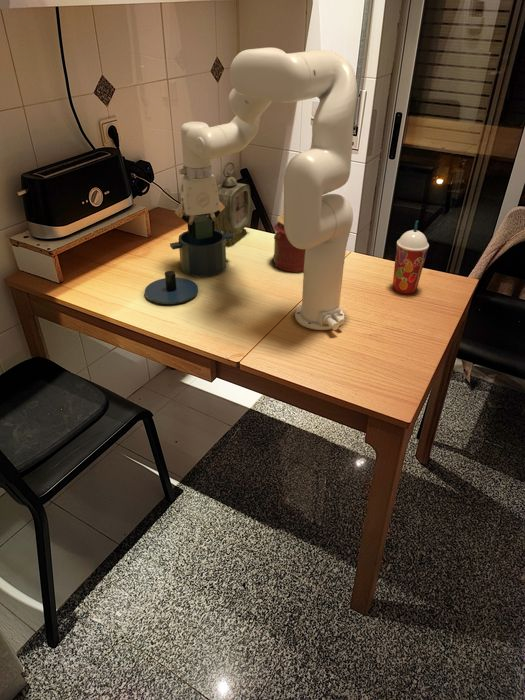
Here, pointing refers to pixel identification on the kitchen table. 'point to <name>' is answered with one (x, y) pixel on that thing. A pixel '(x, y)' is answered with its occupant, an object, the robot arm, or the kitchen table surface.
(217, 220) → the tabletop clock
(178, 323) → the kitchen table surface
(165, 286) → the lid
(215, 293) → the kitchen table surface
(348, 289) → the kitchen table surface
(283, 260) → the kitchen canister
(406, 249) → the smoothie
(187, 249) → the pot
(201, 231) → the block
